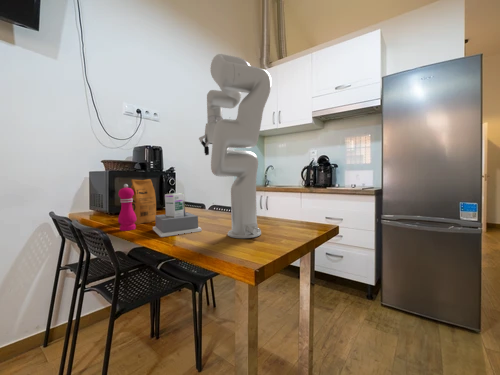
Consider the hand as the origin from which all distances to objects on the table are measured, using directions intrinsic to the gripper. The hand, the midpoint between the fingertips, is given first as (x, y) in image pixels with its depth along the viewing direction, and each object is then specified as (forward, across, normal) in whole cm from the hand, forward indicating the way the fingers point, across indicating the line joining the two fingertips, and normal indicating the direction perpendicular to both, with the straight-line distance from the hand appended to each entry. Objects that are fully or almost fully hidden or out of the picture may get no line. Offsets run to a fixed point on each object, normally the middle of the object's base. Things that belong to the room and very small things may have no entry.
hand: (215, 155), depth 120 cm
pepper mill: (+34, +41, -5) cm, 53 cm away
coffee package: (+34, +33, -20) cm, 51 cm away
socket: (+33, +24, +11) cm, 42 cm away
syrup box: (+32, +24, +11) cm, 42 cm away
